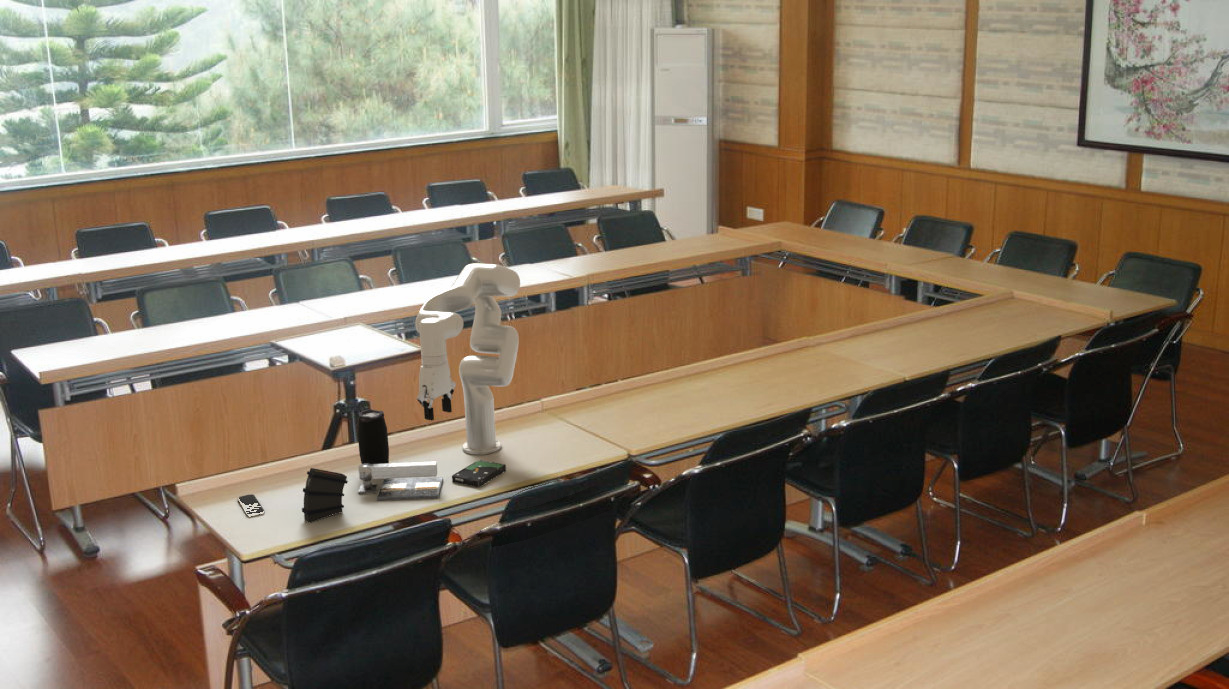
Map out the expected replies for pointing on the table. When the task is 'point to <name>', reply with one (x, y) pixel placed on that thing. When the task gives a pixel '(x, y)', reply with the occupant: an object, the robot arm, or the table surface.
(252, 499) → the remote control
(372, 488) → the pivot post
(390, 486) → the psu panel
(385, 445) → the portable speaker
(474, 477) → the disk drive
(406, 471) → the bar
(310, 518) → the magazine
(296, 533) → the table surface
